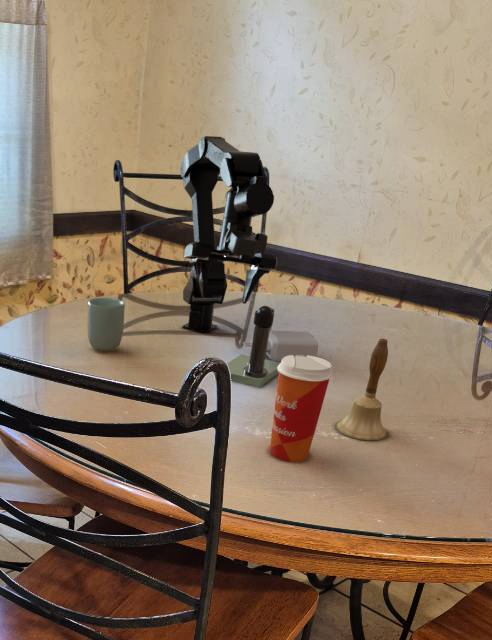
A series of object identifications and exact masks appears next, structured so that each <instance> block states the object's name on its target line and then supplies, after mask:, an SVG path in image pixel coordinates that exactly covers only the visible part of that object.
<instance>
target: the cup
mask: <svg viewBox="0 0 492 640" xmlns="http://www.w3.org/2000/svg"><path fill="white" fill-rule="evenodd" d="M125 307H126V305H125V302H124V301H123V300H122V299H119V298H115V297H114V298H113V297H94V298H90V299H89V300H88V302H87V322H86V323H87V325H86V327H87V338H88V343H89V344H90V347H92V348H93V349H94V350H96V351H99V352H112V351H115V350H116V349H117V348H119V347H120V344H121V342H122V339H123V334H124V328H125V327H124V325H125V311H126V310H125Z"/></svg>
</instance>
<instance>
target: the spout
mask: <svg viewBox="0 0 492 640" xmlns="http://www.w3.org/2000/svg"><path fill="white" fill-rule="evenodd" d="M253 317H254V318H253V325H254V326H255V325H257V326H262V327H269V326H270V331H272V330H273V329H272V327H273V324H274V318H275V309H274V308H272V307H270V306H268V305H262V306H260V307H259V308H258V309H257V310H255V311H254V316H253Z"/></svg>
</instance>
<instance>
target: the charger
mask: <svg viewBox="0 0 492 640" xmlns="http://www.w3.org/2000/svg"><path fill="white" fill-rule="evenodd" d="M252 341H253V338H251V340H250V342H248V341H246V342H245V341H243V342H242V344H243V345H244V347H245V348H251V347H252ZM319 345H320V344H319V341H318V340H317V338H315V336H314V335H313V334H312V333H311V332H310V331H300V330H299V331H298V330H297V331H296V330H295V331H294V330H271V331H270V333H269V339H268V345H267V352H266V357H268V358H269V359H270V361H275V362H281V361H282V359H283V358H284V357H285V356H289V355H293V356H296V355H304V357H307V355H308V356H314V357H318V356H317V355H318V351H319V347H320V346H319Z"/></svg>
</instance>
